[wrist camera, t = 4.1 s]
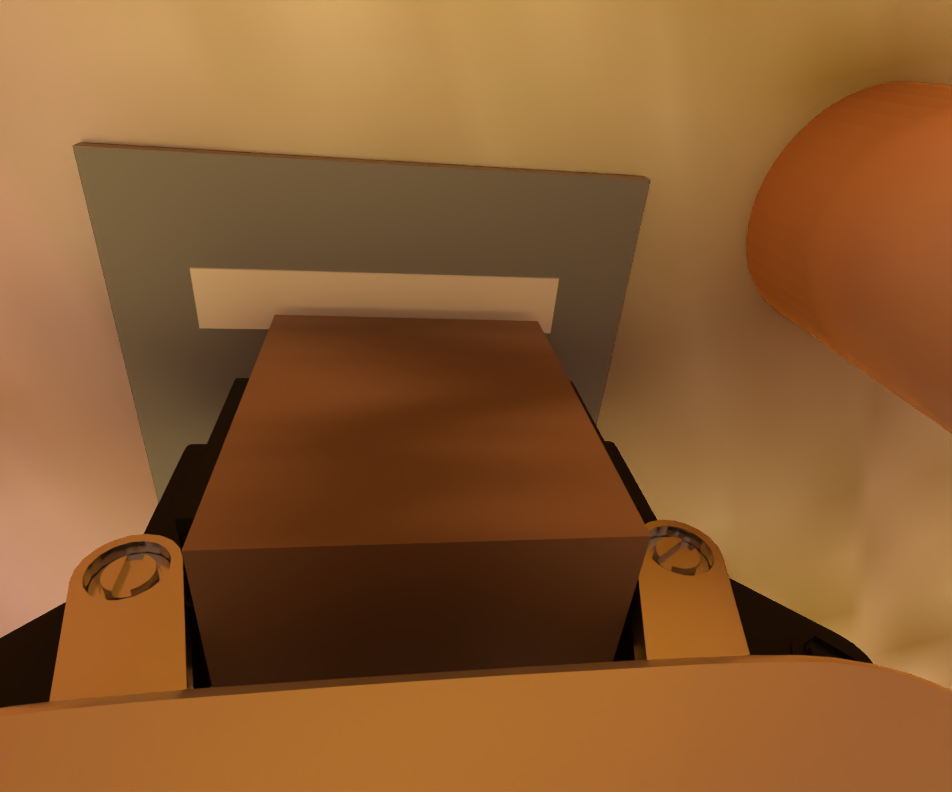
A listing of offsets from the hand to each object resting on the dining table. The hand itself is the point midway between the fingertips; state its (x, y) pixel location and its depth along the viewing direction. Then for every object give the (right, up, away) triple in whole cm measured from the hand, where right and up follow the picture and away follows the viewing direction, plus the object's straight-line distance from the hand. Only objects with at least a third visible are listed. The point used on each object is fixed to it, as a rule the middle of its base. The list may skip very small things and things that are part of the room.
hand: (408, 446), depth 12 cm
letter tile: (-1, +1, +1) cm, 2 cm away
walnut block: (0, 0, +1) cm, 1 cm away
